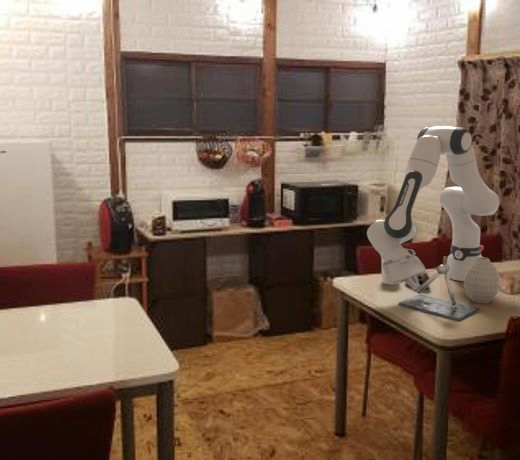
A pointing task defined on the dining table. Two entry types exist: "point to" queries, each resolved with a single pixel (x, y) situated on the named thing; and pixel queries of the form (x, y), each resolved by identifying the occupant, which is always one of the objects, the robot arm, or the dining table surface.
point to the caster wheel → (423, 279)
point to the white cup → (384, 276)
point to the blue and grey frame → (440, 303)
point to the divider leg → (433, 277)
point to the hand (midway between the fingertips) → (417, 288)
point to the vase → (481, 281)
